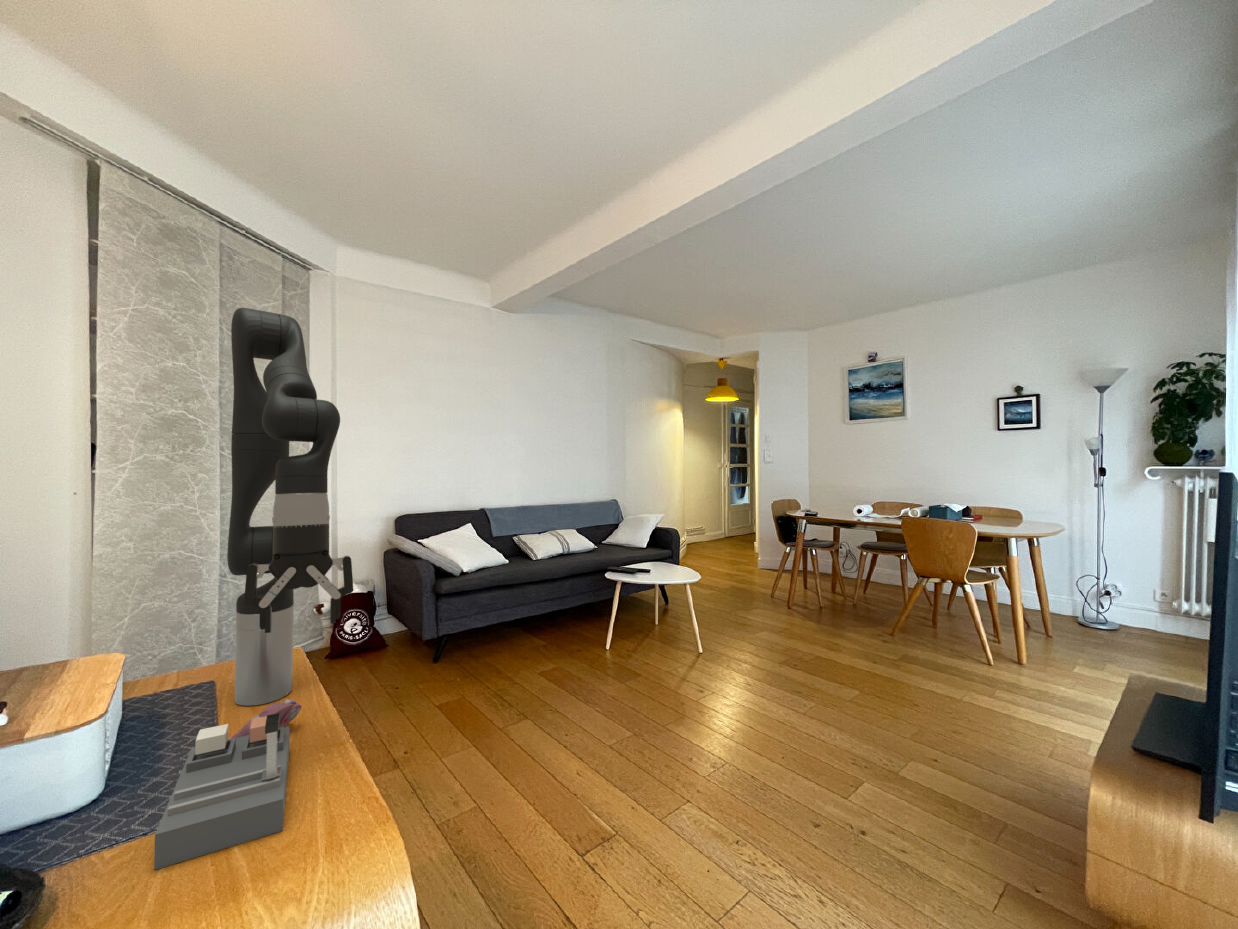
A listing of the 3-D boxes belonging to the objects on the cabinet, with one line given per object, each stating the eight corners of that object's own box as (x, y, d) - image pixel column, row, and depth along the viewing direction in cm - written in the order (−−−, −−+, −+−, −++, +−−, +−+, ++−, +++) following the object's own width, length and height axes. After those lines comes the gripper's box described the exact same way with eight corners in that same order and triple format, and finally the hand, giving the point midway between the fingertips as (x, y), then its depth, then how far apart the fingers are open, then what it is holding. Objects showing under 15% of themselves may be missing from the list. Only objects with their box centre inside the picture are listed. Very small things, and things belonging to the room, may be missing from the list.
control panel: (191, 774, 73) (191, 739, 73) (289, 751, 79) (289, 718, 79) (154, 870, 56) (155, 824, 56) (282, 831, 62) (283, 789, 62)
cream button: (199, 743, 71) (200, 729, 71) (228, 737, 73) (228, 724, 73) (195, 755, 68) (195, 740, 68) (224, 748, 70) (225, 734, 70)
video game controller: (242, 766, 78) (259, 729, 77) (220, 750, 79) (238, 712, 78) (294, 733, 88) (310, 699, 87) (275, 719, 88) (291, 685, 88)
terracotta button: (252, 732, 74) (252, 719, 74) (277, 727, 76) (278, 713, 76) (249, 743, 71) (249, 729, 71) (276, 736, 73) (276, 723, 73)
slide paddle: (263, 775, 67) (264, 716, 67) (281, 771, 68) (282, 712, 68) (261, 789, 64) (262, 727, 64) (280, 784, 65) (281, 723, 65)
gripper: (351, 520, 86) (351, 616, 85) (248, 525, 78) (247, 630, 77) (354, 520, 79) (354, 624, 78) (242, 526, 72) (241, 640, 71)
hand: (301, 627), depth 78 cm, fingers open, 8 cm apart
